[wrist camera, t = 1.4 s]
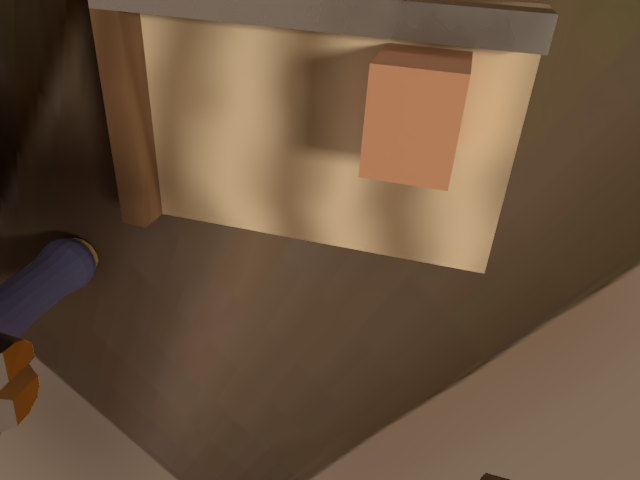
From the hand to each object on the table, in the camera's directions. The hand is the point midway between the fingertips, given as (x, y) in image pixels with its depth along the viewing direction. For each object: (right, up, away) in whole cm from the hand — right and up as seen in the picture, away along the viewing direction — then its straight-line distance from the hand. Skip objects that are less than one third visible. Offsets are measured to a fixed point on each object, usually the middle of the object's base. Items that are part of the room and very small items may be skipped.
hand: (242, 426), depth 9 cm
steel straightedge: (+1, +15, +16) cm, 22 cm away
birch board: (+1, +10, +21) cm, 24 cm away
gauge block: (+6, +10, +17) cm, 21 cm away
